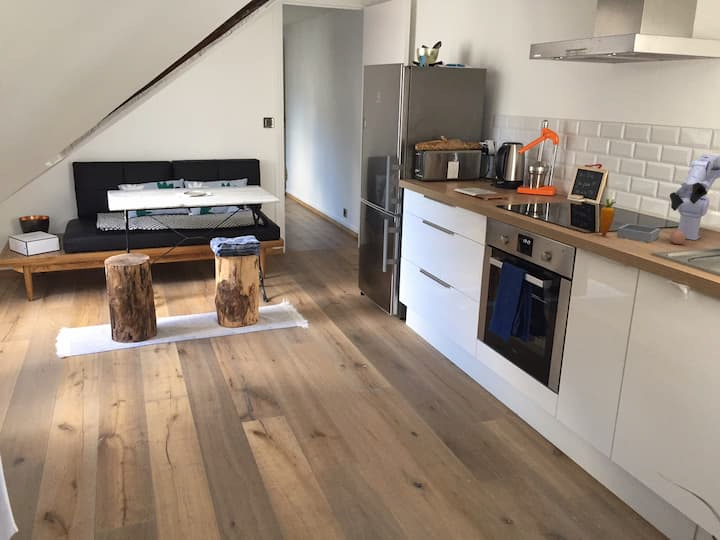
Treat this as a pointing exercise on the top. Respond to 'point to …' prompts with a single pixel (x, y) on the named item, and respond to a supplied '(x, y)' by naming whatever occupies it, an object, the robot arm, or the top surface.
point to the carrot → (606, 217)
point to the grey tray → (638, 232)
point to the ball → (678, 237)
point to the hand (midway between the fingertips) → (682, 205)
